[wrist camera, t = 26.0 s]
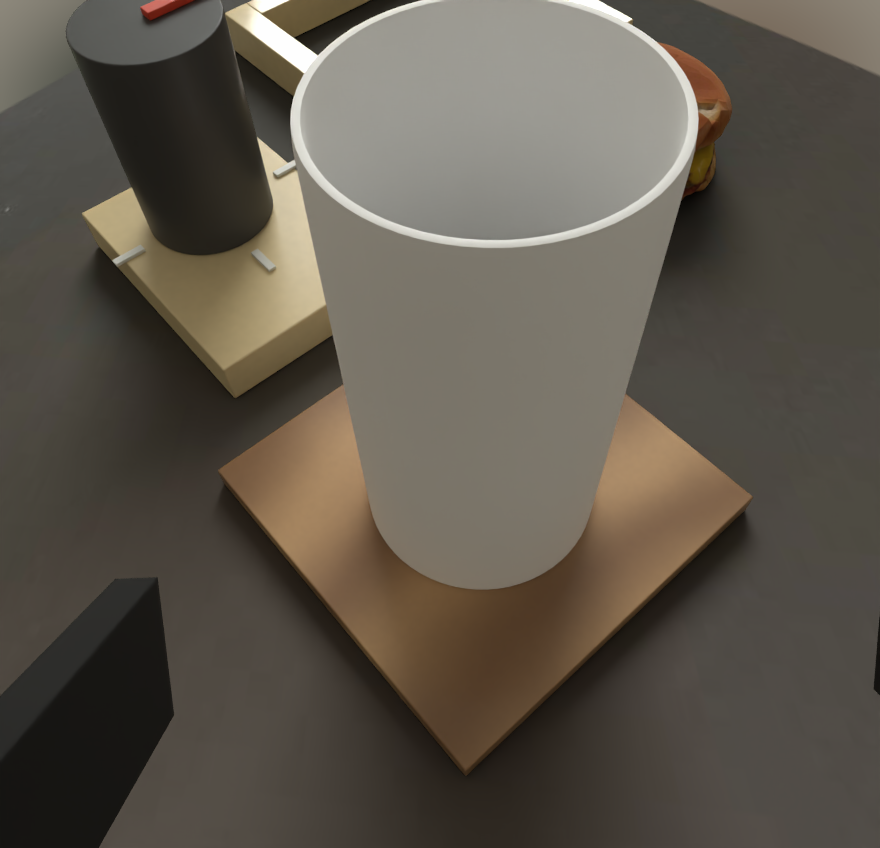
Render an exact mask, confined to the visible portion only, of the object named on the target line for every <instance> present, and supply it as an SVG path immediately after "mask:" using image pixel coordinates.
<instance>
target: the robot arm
mask: <svg viewBox="0 0 880 848" xmlns="http://www.w3.org/2000/svg"><path fill="white" fill-rule="evenodd" d="M874 690H875V691H876V692H877V693H878V694H879V695H880V618H879V630H878V642H877V655H876V667H875V679H874ZM173 716H174V711H173V703H172V694H171V686H170V678H169V669H168V661H167V653H166V644H165V636H164V628H163V619H162V611H161V603H160V594H159V586H158V578H157V577H156V578H129V579H115V580H114V581H113V582H112V583H111V584H110V585H109V586H108V587H107V588H106V589H105V590H104V591H103V592H102V593H101V594H100V595H99V596H98V597H97V598H96V599H95V600H94V601H93V602H92V603H91V604H90V605H89V606H88V607H87V608H86V609H85V610H84V611H83V612H82V613H81V614H80V615H79V616H78V617H77V618H76V619H75V620H74V621H73V622H72V623H71V625H70V626H69V627H68V628H67V629H66V630H65V631H64V632H63V633H62V634H61V635H60V636H59V637H58V638H57V639H56V640H55V641H54V642H53V643H52V644H51V645H50V646H49V647H48V648H47V649H46V650H45V651H44V652H43V653H42V654H41V655H40V656H39V657H38V658H37V659H36V660H35V661H34V662H33V663H32V664H31V665H30V666H29V667H28V668H27V669H26V670H25V671H24V672H23V673H22V674H21V675H20V676H19V677H18V678H17V679H16V680H15V681H14V682H13V683H12V685H11V686H10V687H9V688H8V689H7V690H6V691H5V692H4V693H3V694H2V695H1V696H0V848H99V846H100V844H101V843H102V841H103V839H104V837H105V835H106V834H107V832H108V830H109V828H110V827H111V825H112V823H113V821H114V820H115V818H116V816H117V814H118V813H119V811H120V809H121V807H122V806H123V804H124V802H125V800H126V799H127V797H128V795H129V793H130V791H131V790H132V788H133V786H134V784H135V783H136V781H137V779H138V777H139V776H140V774H141V772H142V770H143V769H144V767H145V765H146V763H147V762H148V760H149V758H150V756H151V754H152V753H153V751H154V749H155V747H156V746H157V744H158V742H159V740H160V739H161V737H162V735H163V733H164V732H165V730H166V728H167V726H168V725H169V723H170V721H171V719H172V718H173Z"/></svg>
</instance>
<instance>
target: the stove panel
mask: <svg viewBox="0 0 880 848" xmlns="http://www.w3.org/2000/svg"><path fill="white" fill-rule="evenodd" d="M257 140H258V144H259V148H260V151H261V155H262V159H263V163H264V167H265V171H266V175H267V179H268V182H269V186H270V190H271V194H272V198H273V210H272V213H271V216H270V219H269V221H268V222H267V224H266V225H265V227H264V228H263V229H262V230H261V231H260V232H259V233H258V234H257V235H256V236H255V237H254V238H252V239H251V240H249V241H248V242H246V243H244V244H243V245H241V246H239V247H236V248H234V249H231V250H228V251H225V252H221V253H217V254H210V255H190V254H184V253H180V252H176V251H174V250H171V249H169V248H167V247H166V246H164V245H163V244H161V243H160V242H159V241H158V240H157V239H156V238H155V237H154V235H153V234H152V232H151V230H150V228H149V225H148V223H147V221H146V219H145V216H144V214H143V212H142V210H141V207H140V205H139V203H138V200H137V198H136V196H135V194H134V191H133V189H132V188H130V189H128V190H126V191H124V192H122V193H120V194H118V195H116V196H114V197H112V198H110V199H109V200H107V201H105V202H103V203H101V204H99V205H97V206H95V207H93V208H91V209H89V210H87V211H86V212H84V213H82V216H83V218H84V220H85V222H86V224H87V225H88V227H89V229H90V231H91V233H92V235H93V237H94V239H95V241H96V243H97V244H98V246H99V247H100V248H101V249H102V250H103V251H104V252H105V254H106V255H107V256H108V257H109V258H110V259H111V260H112V261H113V263H114V264H115V265H116V266H117V267H118V268H119V269H120V270H121V271H122V273H123V274H124V275H125V276H126V277H127V278H128V279H129V280H130V282H131V283H132V284H133V285H134V286H135V287H136V288H137V289H138V290H139V292H140V293H141V294H142V295H143V296H144V297H145V298H146V299H147V301H148V302H149V303H150V304H151V305H152V306H153V307H154V308H155V309H156V311H157V312H158V313H159V314H160V315H161V316H162V317H163V318H164V320H165V321H166V322H167V323H168V324H169V325H170V326H171V327H172V329H173V330H174V331H175V332H176V333H177V334H178V335H179V336H180V337H181V339H182V340H183V341H184V342H185V343H186V344H187V345H188V346H189V348H190V349H191V350H192V351H193V352H194V353H195V354H196V355H197V357H198V358H199V359H200V360H201V361H202V362H203V363H204V364H205V365H206V367H207V368H208V369H209V370H210V371H211V372H212V373H213V374H214V376H215V377H216V378H217V379H218V380H219V381H220V382H221V383H222V385H223V386H224V387H225V388H226V389H227V390H228V391H229V392H230V393H231V395H232V396H233V397H234V398H237V397H239V396H240V395H242V394H243V393H245V392H246V391H248V390H249V389H251V388H252V387H254V386H255V385H257V384H258V383H260V382H261V381H263V380H264V379H266V378H268V377H269V376H271V375H272V374H274V373H275V372H277V371H278V370H280V369H281V368H283V367H284V366H286V365H287V364H289V363H290V362H292V361H294V360H295V359H297V358H298V357H300V356H301V355H303V354H304V353H306V352H307V351H309V350H310V349H312V348H313V347H315V346H316V345H318V344H320V343H321V342H323V341H324V340H326V339H327V338H329V337H330V336H332V335H333V334H332V329H331V325H330V320H329V316H328V311H327V306H326V302H325V297H324V293H323V288H322V284H321V279H320V274H319V270H318V265H317V261H316V256H315V251H314V247H313V242H312V238H311V233H310V228H309V224H308V219H307V214H306V210H305V205H304V200H303V196H302V191H301V186H300V182H299V177H298V172H297V171H296V170H295V168H296V163H295V160H293V161H291V162H290V163H287V162H286V161H285V160H283V159H282V158H281V157H280V156H279V155H278V154H276V153H275V152H274V151H273V150H272V149H270V148H269V147H268V146H267V145H266V144H265V143H263V142H262V141H261V140H260V139H259V138H258V137H257Z"/></svg>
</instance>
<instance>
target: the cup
mask: <svg viewBox="0 0 880 848" xmlns="http://www.w3.org/2000/svg"><path fill="white" fill-rule="evenodd" d="M698 121H699V117H698V107H697V102H696V98H695V94H694V92H693V89H692V87H691V84H690V82H689V80H688V79H687V77H686V75H685V73H684V72H683V70H682V69H681V67H680V66H679V65H678V63H677V62H676V61H675V59H674V58H673V57H672V56H671V55H670V54H669V53H668V52H667V51H666V50H665V49H664V48H663V47H662V46H660V45H659V44H658V43H657V42H656V41H655V40H653V39H652V38H651V37H649V36H648V35H646V34H645V33H644V32H642V31H641V30H639V29H637V28H636V27H634V26H632V25H631V24H629V23H627V22H625V21H623V20H621V19H619V18H617V17H615V16H613V15H610V14H608V13H605V12H603V11H600V10H598V9H595V8H592V7H589V6H586V5H583V4H579V3H576V2H572V1H568V0H421V1H417V2H413V3H410V4H407V5H403V6H400V7H397V8H394V9H392V10H389V11H386V12H384V13H381V14H379V15H377V16H375V17H372V18H370V19H368V20H366V21H364V22H362V23H361V24H359V25H357V26H355V27H353V28H352V29H350V30H349V31H347V32H346V33H344V34H343V35H341V36H340V37H338V38H337V39H336V40H335V41H333V42H332V43H331V44H330V45H328V46H327V47H326V48H325V49H324V50H323V51H322V52H321V53H320V54H319V55H318V56H317V57H316V59H315V60H314V61H313V62H312V63H311V64H310V66H309V67H308V69H307V70H306V72H305V73H304V75H303V77H302V78H301V80H300V82H299V84H298V86H297V89H296V92H295V95H294V98H293V102H292V107H291V119H290V126H291V138H292V146H293V154H294V158H295V163H296V168H297V172H298V177H299V182H300V186H301V191H302V196H303V200H304V205H305V210H306V214H307V219H308V224H309V228H310V233H311V238H312V242H313V247H314V251H315V256H316V261H317V265H318V270H319V274H320V279H321V284H322V288H323V293H324V297H325V302H326V306H327V311H328V316H329V320H330V325H331V329H332V334H333V339H334V343H335V348H336V352H337V357H338V361H339V366H340V371H341V375H342V380H343V384H344V389H345V394H346V398H347V403H348V407H349V412H350V416H351V421H352V426H353V430H354V435H355V439H356V444H357V449H358V453H359V458H360V462H361V467H362V471H363V476H364V481H365V485H366V490H367V494H368V499H369V504H370V508H371V512H372V515H373V518H374V521H375V524H376V526H377V528H378V530H379V532H380V534H381V536H382V537H383V539H384V540H385V542H386V543H387V545H388V546H389V547H390V548H391V549H392V551H393V552H394V553H395V554H396V555H397V556H398V557H399V558H400V559H401V560H402V561H403V562H405V563H406V564H407V565H408V566H410V567H411V568H413V569H414V570H416V571H417V572H419V573H420V574H422V575H424V576H426V577H428V578H430V579H433V580H435V581H438V582H440V583H443V584H447V585H450V586H454V587H459V588H465V589H475V590H489V589H500V588H505V587H511V586H514V585H518V584H521V583H524V582H526V581H529V580H532V579H534V578H536V577H538V576H540V575H542V574H543V573H545V572H546V571H548V570H550V569H551V568H553V567H554V566H555V565H556V564H558V563H559V562H560V561H561V560H562V559H563V558H564V557H565V556H566V555H567V554H568V553H569V552H570V551H571V550H572V548H573V547H574V546H575V545H576V543H577V542H578V540H579V538H580V537H581V535H582V533H583V531H584V529H585V527H586V525H587V522H588V519H589V516H590V513H591V509H592V506H593V503H594V499H595V496H596V492H597V489H598V485H599V482H600V478H601V475H602V472H603V468H604V465H605V461H606V458H607V454H608V451H609V447H610V444H611V441H612V437H613V434H614V430H615V427H616V423H617V420H618V417H619V413H620V410H621V406H622V403H623V399H624V396H625V392H626V389H627V386H628V382H629V379H630V375H631V372H632V368H633V365H634V361H635V358H636V355H637V351H638V348H639V344H640V341H641V337H642V334H643V330H644V327H645V324H646V320H647V317H648V313H649V310H650V306H651V303H652V299H653V296H654V293H655V289H656V286H657V282H658V279H659V275H660V272H661V268H662V265H663V262H664V258H665V255H666V251H667V248H668V244H669V241H670V237H671V234H672V230H673V227H674V223H675V220H676V216H677V213H678V209H679V206H680V202H681V199H682V195H683V192H684V188H685V185H686V182H687V178H688V175H689V171H690V168H691V164H692V160H693V156H694V152H695V147H696V140H697V133H698Z"/></svg>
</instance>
